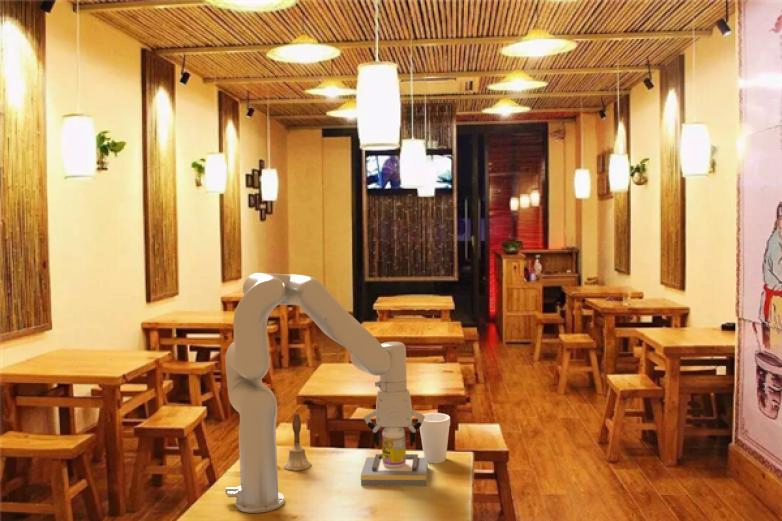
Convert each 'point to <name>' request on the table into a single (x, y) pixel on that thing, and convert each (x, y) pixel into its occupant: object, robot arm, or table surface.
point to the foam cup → (435, 436)
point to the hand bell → (297, 450)
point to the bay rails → (408, 456)
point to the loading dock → (395, 473)
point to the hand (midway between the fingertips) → (394, 444)
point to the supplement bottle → (393, 447)
